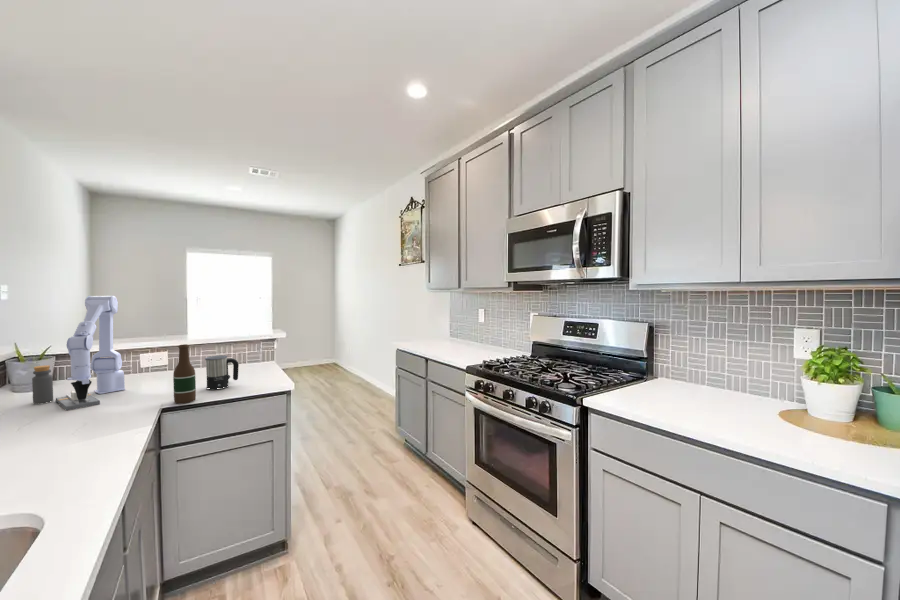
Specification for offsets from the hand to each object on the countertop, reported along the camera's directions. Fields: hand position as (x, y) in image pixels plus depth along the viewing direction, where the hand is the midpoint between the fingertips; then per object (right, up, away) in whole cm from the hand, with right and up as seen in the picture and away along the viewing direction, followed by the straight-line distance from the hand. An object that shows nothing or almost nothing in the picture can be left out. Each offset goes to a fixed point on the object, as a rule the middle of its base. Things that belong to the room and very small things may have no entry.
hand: (81, 399), depth 159 cm
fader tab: (-3, -1, +2) cm, 4 cm away
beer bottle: (+37, -3, +7) cm, 37 cm away
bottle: (-21, -3, +5) cm, 21 cm away
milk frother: (+36, -2, +33) cm, 49 cm away
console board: (-6, -3, +4) cm, 8 cm away
